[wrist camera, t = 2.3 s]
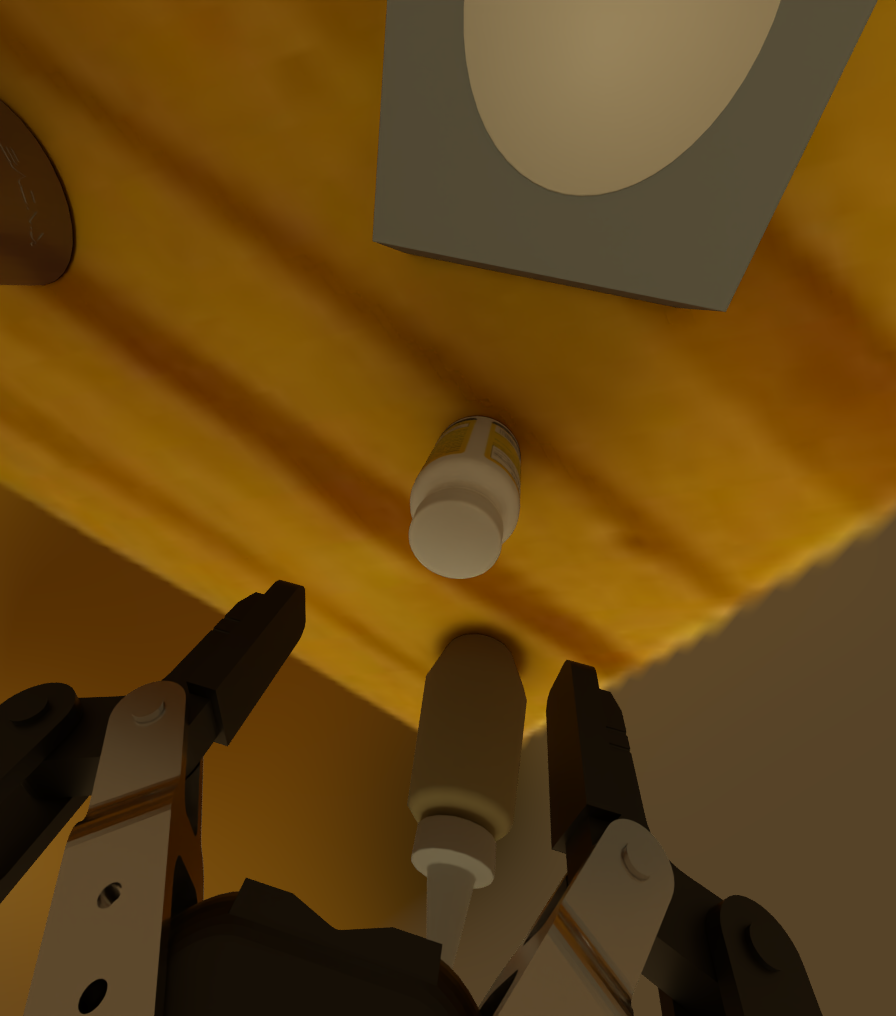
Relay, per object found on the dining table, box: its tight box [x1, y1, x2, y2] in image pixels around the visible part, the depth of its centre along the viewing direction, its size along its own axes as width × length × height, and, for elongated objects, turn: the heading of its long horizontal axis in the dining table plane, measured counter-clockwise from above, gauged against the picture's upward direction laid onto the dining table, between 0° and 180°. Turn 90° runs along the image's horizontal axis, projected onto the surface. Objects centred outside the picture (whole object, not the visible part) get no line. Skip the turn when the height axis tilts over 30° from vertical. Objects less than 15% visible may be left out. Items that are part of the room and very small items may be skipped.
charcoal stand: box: [373, 0, 877, 312], centre depth 13 cm, size 14×14×5 cm
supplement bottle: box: [409, 416, 521, 579], centre depth 20 cm, size 5×5×10 cm
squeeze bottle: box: [407, 634, 527, 969], centre depth 25 cm, size 8×8×18 cm
